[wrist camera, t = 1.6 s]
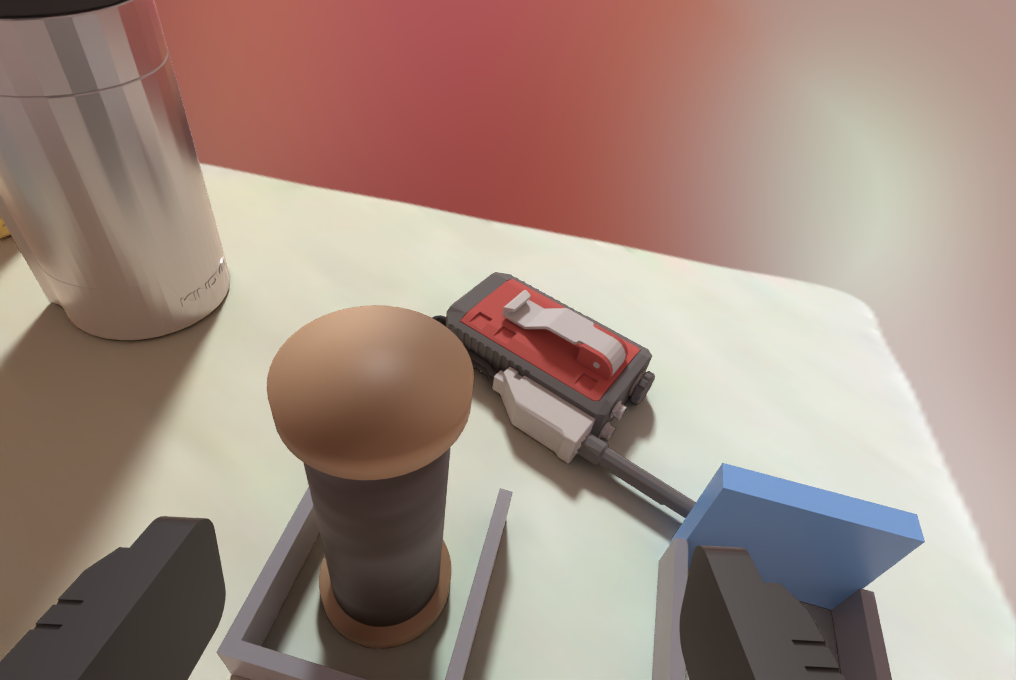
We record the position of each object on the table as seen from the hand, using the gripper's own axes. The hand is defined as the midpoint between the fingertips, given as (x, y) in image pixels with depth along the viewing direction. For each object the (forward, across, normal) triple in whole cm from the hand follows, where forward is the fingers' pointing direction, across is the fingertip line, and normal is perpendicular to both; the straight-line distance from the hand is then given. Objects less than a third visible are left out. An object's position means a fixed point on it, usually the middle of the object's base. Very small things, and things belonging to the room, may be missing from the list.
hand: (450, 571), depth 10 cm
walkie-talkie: (+24, -5, +10) cm, 26 cm away
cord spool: (+12, +4, +13) cm, 18 cm away
